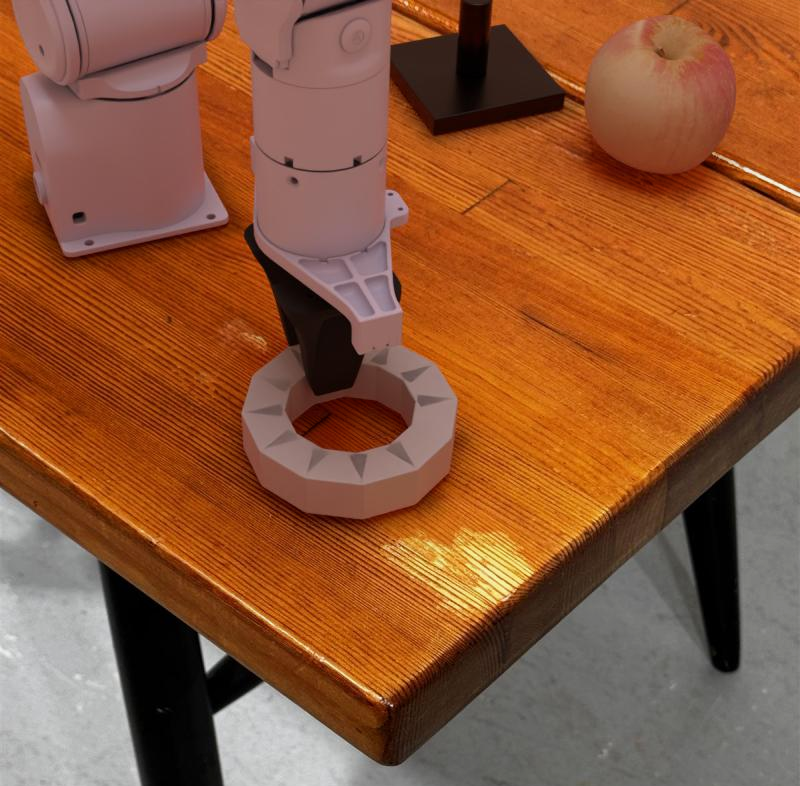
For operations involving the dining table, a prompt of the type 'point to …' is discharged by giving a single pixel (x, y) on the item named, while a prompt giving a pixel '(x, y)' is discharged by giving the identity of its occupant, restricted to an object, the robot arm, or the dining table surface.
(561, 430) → the dining table surface
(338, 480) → the tape roll
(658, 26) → the apple
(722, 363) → the dining table surface
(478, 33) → the black peg stand
